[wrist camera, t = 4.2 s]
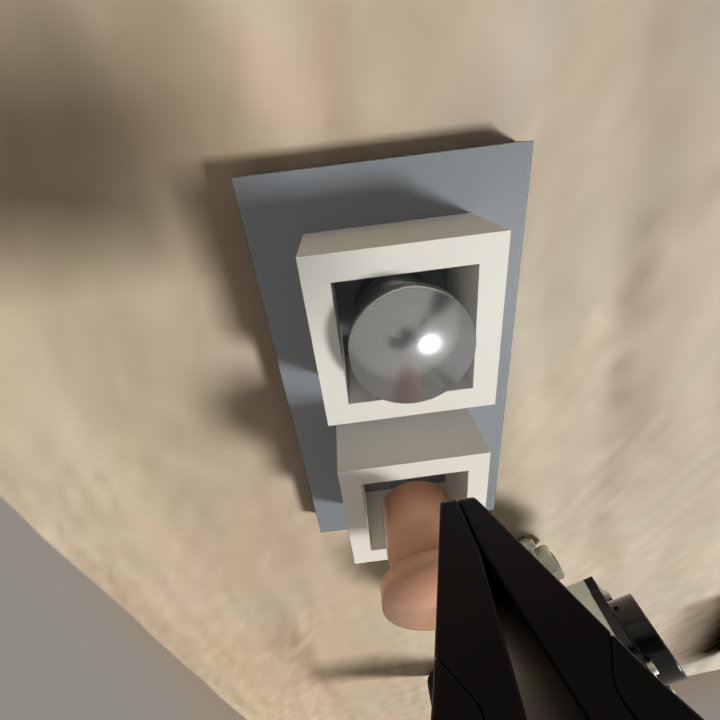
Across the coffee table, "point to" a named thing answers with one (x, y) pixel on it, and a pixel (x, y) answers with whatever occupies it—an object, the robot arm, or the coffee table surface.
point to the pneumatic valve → (618, 619)
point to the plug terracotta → (411, 554)
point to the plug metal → (409, 338)
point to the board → (337, 310)
